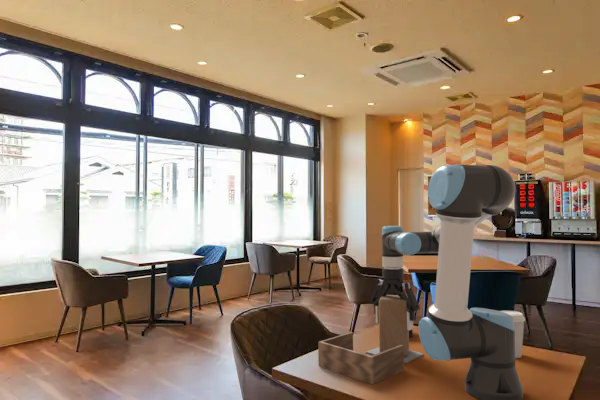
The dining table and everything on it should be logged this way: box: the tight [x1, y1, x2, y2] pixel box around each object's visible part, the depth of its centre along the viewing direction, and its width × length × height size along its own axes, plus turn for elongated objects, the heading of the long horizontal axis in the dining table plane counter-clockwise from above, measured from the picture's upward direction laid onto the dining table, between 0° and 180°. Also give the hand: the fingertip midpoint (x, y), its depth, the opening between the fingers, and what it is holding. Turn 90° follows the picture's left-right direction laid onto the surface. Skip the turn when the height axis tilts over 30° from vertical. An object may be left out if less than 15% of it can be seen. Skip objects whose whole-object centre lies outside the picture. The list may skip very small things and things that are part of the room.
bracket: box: [317, 331, 405, 385], centre depth 142 cm, size 23×17×8 cm
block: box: [378, 294, 410, 357], centre depth 156 cm, size 10×10×20 cm
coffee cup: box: [500, 310, 526, 359], centre depth 153 cm, size 10×10×15 cm
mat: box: [365, 346, 424, 365], centre depth 155 cm, size 16×13×1 cm
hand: (394, 326), depth 156 cm, fingers closed on block, 13 cm apart
